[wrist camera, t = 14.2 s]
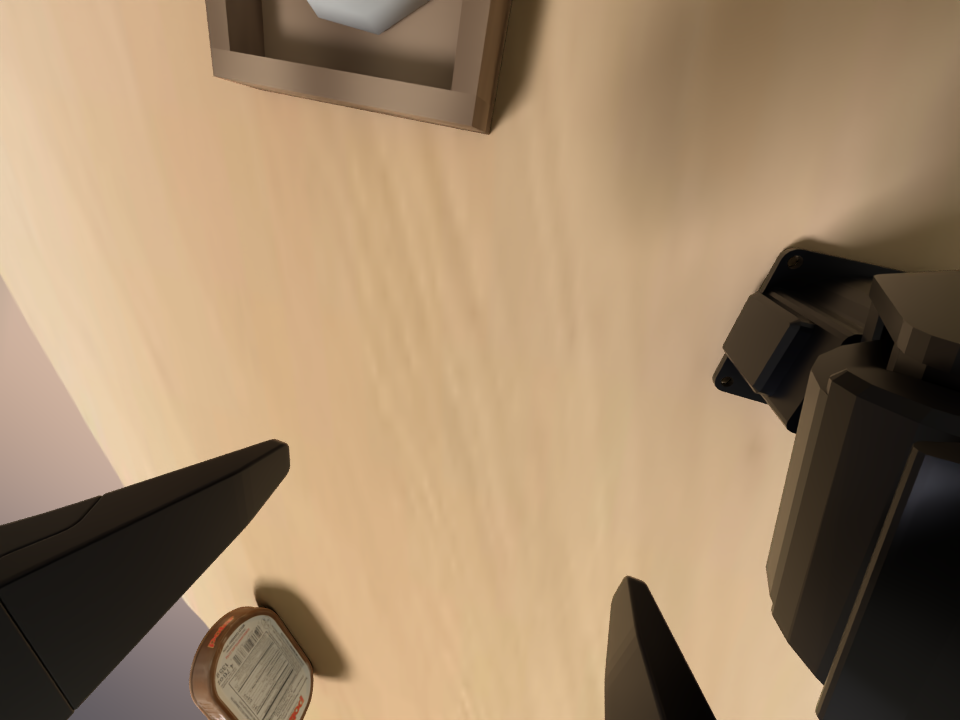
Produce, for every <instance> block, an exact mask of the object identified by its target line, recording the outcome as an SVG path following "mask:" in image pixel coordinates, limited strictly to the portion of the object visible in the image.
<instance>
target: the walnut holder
mask: <svg viewBox="0 0 960 720" xmlns="http://www.w3.org/2000/svg"><path fill="white" fill-rule="evenodd" d="M205 3H206V12H207V21H208V30H209V39H210V48H211V57H212V66H213V75H214V76H215V77H218V78H222V79H225V80H229V81H232V82H236V83H239V84H242V85H246V86H249V87H253V88H256V89H260V90H265V91H270V92H275V93H280V94H285V95H290V96H295V97H300V98H305V99H310V100H315V101H320V102H326V103H331V104H336V105H341V106H346V107H351V108H356V109H361V110H366V111H371V112H376V113H381V114H386V115H391V116H397V117H402V118H407V119H412V120H417V121H422V122H427V123H432V124H437V125H442V126H447V127H452V128H457V129H462V130H468V131H473V132H478V133H483V134H488V135H489V132H490V126H491V120H492V114H493V108H494V103H495V97H496V91H497V85H498V79H499V74H500V68H501V62H502V56H503V50H504V44H505V39H506V33H507V27H508V21H509V15H510V9H511V4H512V0H429V1H428V2H426V3H425V4H423V5H422V6H421V7H419V8H418V9H416V10H415V11H413V12H412V13H410V14H409V15H407V16H406V17H404V18H403V19H401V20H400V21H398V22H397V23H396V24H394V25H393V26H391V27H390V28H388V29H387V30H385V31H384V32H382V33H381V34H379V35H377V34H374V33H370V32H367V31H363V30H360V29H356V28H353V27H350V26H346V25H343V24H339V23H336V22H332V21H329V20H326V19H322V18H319V17H318V16H317V15H316V13H315V12H314V10H313V9H312V7H311V6H310V4H309V3H308V1H307V0H205Z"/></svg>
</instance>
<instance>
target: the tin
mask: <svg viewBox="0 0 960 720" xmlns="http://www.w3.org/2000/svg"><path fill="white" fill-rule="evenodd" d="M189 688H190V694H191V697H192V700H193V701H194V703H195V705H196V706H197V707H198V708H199V709H200V710H201V712H202V713H203V714H204V715H205V716H206V717H207V718H208V720H303V718H304V716H305V714H306V711H307V709H308V707H309V704H310V701H311V697H312V691H313V671H312V666H311V664H310V662H309V660H308V658H307V657H306V655H305V654H304V652H303V651H302V650H301V648H300V647H299V645H298V644H297V642H296V641H295V639H294V638H293V637H292V635H291V634H290V632H289V631H288V629H287V628H286V626H285V625H284V623H283V622H282V620H281V619H280V618H279V616H278V615H277V614H276V613H275V612H274V611H272V610H270V609H268V608H261V607H240V608H237V609H235V610H232V611H230V612H229V613H227V614H226V615H224V616H223V617H222V618H220V619H219V620H218V621H217V622H216V623H215V624H214V625H213V626H212V627H211V629H210V630H209V631H208V632H207V634H206V635H205V637H204V638H203V640H202V641H201V643H200V645H199V647H198V649H197V651H196V654H195V656H194V659H193V662H192V665H191V670H190V678H189Z"/></svg>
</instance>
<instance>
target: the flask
mask: <svg viewBox="0 0 960 720" xmlns="http://www.w3.org/2000/svg"><path fill="white" fill-rule="evenodd" d="M307 1H308V3H309V4H310V6H311V7H312V9H313V10H314V12H315V13H316V15H317V16H318V17H319V18H322V19H326V20H329V21H332V22H336V23H339V24H343V25H346V26H350V27H353V28H356V29H360V30H363V31H367V32H370V33H374V34H377V35H379V34H381V33H382V32H384V31H385V30H387V29H388V28H390V27H391V26H393V25H394V24H396V23H397V22H398V21H400V20H401V19H403V18H404V17H406V16H407V15H409V14H410V13H412V12H413V11H415V10H416V9H418V8H419V7H421V6H422V5H423V4H425V3H426V2H428V1H429V0H307Z"/></svg>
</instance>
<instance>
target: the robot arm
mask: <svg viewBox="0 0 960 720" xmlns="http://www.w3.org/2000/svg"><path fill="white" fill-rule="evenodd" d="M793 256H798V258H799V260H798V263H797V264H796V265H794V266H792V267H788V265H787V263H788V260H789V259H790V258H791V257H793ZM723 350H724V352H725V354H724V356H723V358H722V360H721V362H720V364H719V365H718V367H717V369H716V371H715V373H714V375H713V378H712V379H713V383H714V384H715V386H716V387H717V389H719V390H721V391H724V392H727V393H731V394H734V395H737V396H741V397H744V398H748V399H751V400H755V401H758V402H762V403H765V404H768V405H769V406H770V407H771V409H772V410H773V411H774V413H775V414H776V415H777V416H778V418H779V419H780V420H781V422H782V423H783V424H784V426H785V427H786V428H787V429H788V430H789V431H790V432H792V433H795V434H796V437H795V441H794V446H793V450H792V454H791V459H790V463H789V468H788V472H787V476H786V481H785V485H784V490H783V494H782V498H781V503H780V507H779V512H778V516H777V520H776V525H775V529H774V534H773V538H772V542H771V547H770V551H769V556H768V560H767V564H766V571H767V578H768V586H769V593H770V597H771V600H772V602H773V605H772V609H771V611H772V615H773V617H774V619H775V621H776V623H777V624H778V626H779V628H780V630H781V631H782V633H783V635H784V637H785V639H786V640H787V642H788V643H789V645H790V646H791V647H792V648H793V650H794V651H795V652H796V653H797V655H798V656H799V657H800V658H801V660H802V661H803V662H804V663H805V664H806V666H807V667H808V668H809V669H810V671H811V672H812V673H813V674H814V676H815V677H816V678H817V679H818V680H819V681H820V682H821V683H822V684H823V685H824V687H823V689H822V692H821V695H820V698H819V700H818V703H817V706H816V711H815V712H816V715H817V717H818V718H819V720H960V270H949V271H931V272H912V273H910V272H905V271H901V270H896V269H891V268H887V267H882V266H878V265H873V264H869V263H864V262H860V261H855V260H850V259H846V258H841V257H837V256H832V255H828V254H823V253H819V252H814V251H809V250H805V249H800V248H790V249H786V250H785V251H783V252H782V253H780V255H779V256H778V257H777V259H776V261H775V263H774V264H773V266H772V268H771V270H770V272H769V274H768V275H767V277H766V279H765V281H764V283H763V285H762V286H761V288H760V290H759V292H756V293H754V294H752V295H750V296H749V298H748V300H747V302H746V303H745V305H744V307H743V309H742V311H741V313H740V315H739V316H738V318H737V320H736V322H735V324H734V326H733V328H732V330H731V331H730V333H729V335H728V337H727V339H726V341H725V343H724V344H723ZM725 377H731V380H730V381H729V382H727V383H722V382H721V380H722V379H723V378H725ZM289 469H290V455H289V446H288V444H287V443H284V442H282V441H279V440H276V439H271V440H268V441H265V442H262V443H259V444H256V445H253V446H250V447H246V448H243V449H240V450H237V451H234V452H231V453H228V454H225V455H222V456H219V457H216V458H213V459H210V460H207V461H204V462H201V463H198V464H194V465H191V466H188V467H185V468H182V469H179V470H176V471H173V472H170V473H167V474H164V475H161V476H158V477H155V478H152V479H149V480H145V481H142V482H139V483H136V484H133V485H130V486H127V487H124V488H121V489H118V490H115V491H112V492H109V493H106V494H104V495H103V496H96V497H93V498H90V499H87V500H84V501H81V502H78V503H75V504H71V505H68V506H65V507H62V508H59V509H56V510H52V511H49V512H46V513H43V514H39V515H36V516H32V517H28V518H25V519H22V520H18V521H14V522H11V523H7V524H4V525H0V720H67V719H68V718H69V717H70V716H71V715H72V714H73V713H74V710H75V709H77V708H78V707H79V706H80V705H81V704H82V703H83V702H84V701H85V700H86V699H87V697H88V696H89V695H90V694H91V693H92V692H93V691H94V690H95V689H96V688H97V686H99V684H100V683H101V682H102V681H103V680H104V679H105V678H106V677H107V676H108V675H109V674H110V673H111V671H113V669H114V668H115V667H116V666H117V665H118V664H119V663H120V662H121V661H122V660H123V659H124V658H125V656H126V655H127V654H128V653H129V652H130V651H131V650H132V649H133V648H134V647H135V646H136V645H137V644H138V643H139V642H140V640H141V639H142V638H143V637H144V636H145V635H146V634H147V633H148V632H149V631H150V630H151V629H152V627H153V626H154V625H155V624H156V623H157V622H158V621H159V620H160V619H161V618H162V617H163V616H164V614H166V612H167V611H168V610H169V609H170V608H171V607H172V606H173V605H174V604H175V603H176V602H177V601H178V599H179V598H180V597H181V596H182V595H183V594H184V593H185V592H186V591H187V590H188V589H189V588H190V587H191V586H192V584H193V583H194V582H195V581H196V580H197V579H198V578H199V577H200V576H201V575H202V574H203V573H204V572H205V570H206V569H207V568H208V567H209V566H210V565H211V564H212V563H213V562H214V561H215V560H216V559H217V558H218V557H219V555H220V554H221V553H222V552H223V551H224V550H225V549H226V548H227V547H228V546H229V545H230V544H231V543H232V541H233V540H234V539H235V538H236V537H237V536H238V535H239V534H240V533H241V532H242V531H243V530H244V528H245V527H246V526H247V525H248V524H249V523H250V521H251V520H252V519H253V518H254V517H255V515H256V514H257V513H258V511H259V510H260V509H261V508H262V506H263V505H264V504H265V502H266V501H267V500H268V499H269V497H270V496H271V495H272V493H273V492H274V491H275V489H276V488H277V487H278V486H279V484H280V483H281V482H282V480H283V479H284V478H285V477H286V475H287V473H288V472H289ZM605 720H716V718H715V716H714V714H713V712H712V710H711V708H710V706H709V704H708V702H707V701H706V699H705V697H704V695H703V693H702V691H701V689H700V687H699V685H698V683H697V681H696V679H695V677H694V675H693V673H692V671H691V670H690V668H689V666H688V664H687V662H686V660H685V658H684V656H683V654H682V652H681V650H680V648H679V646H678V644H677V642H676V640H675V639H674V637H673V635H672V633H671V631H670V629H669V627H668V625H667V623H666V621H665V619H664V617H663V615H662V613H661V611H660V609H659V608H658V606H657V604H656V602H655V600H654V598H653V596H652V594H651V592H650V590H649V588H648V586H647V585H646V583H645V582H643V581H642V580H639V579H636V578H634V577H631V576H626V577H624V579H623V580H622V582H621V584H620V586H619V587H618V589H617V591H616V592H615V594H614V596H613V599H612V603H611V611H610V623H609V634H608V646H607V657H606V668H605Z"/></svg>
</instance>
